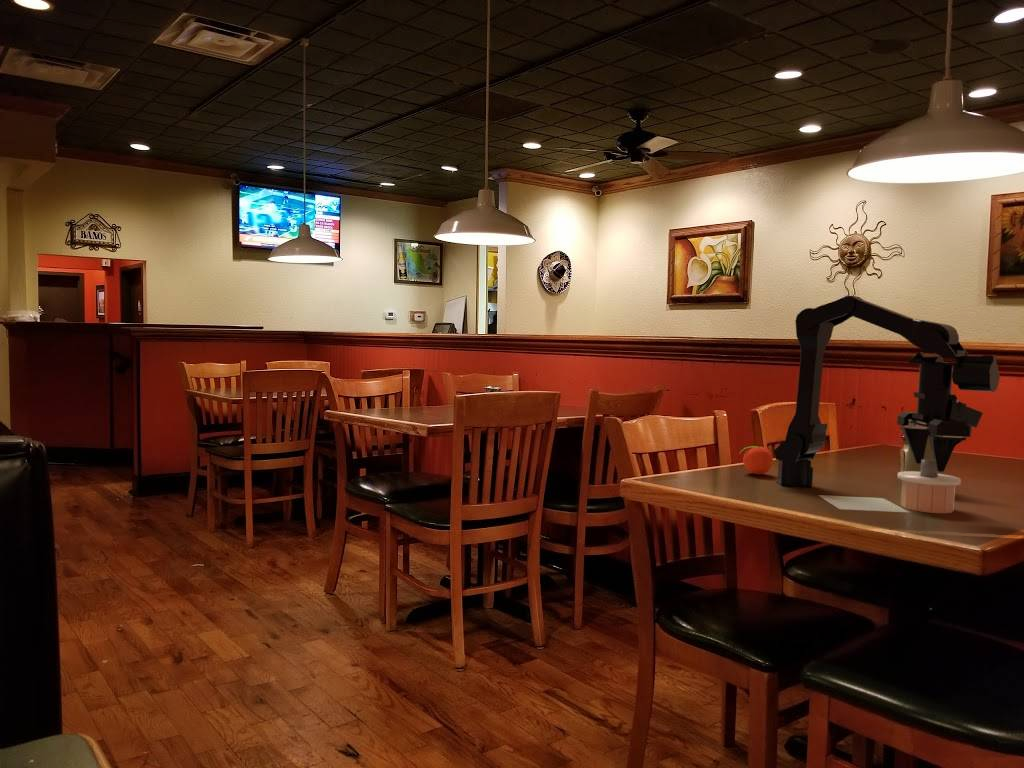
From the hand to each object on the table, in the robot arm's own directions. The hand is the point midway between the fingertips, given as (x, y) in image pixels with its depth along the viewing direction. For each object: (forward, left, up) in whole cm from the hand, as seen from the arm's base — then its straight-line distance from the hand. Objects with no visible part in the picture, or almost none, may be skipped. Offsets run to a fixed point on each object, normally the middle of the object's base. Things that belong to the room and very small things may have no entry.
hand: (929, 467), depth 152 cm
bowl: (0, 0, -9) cm, 9 cm away
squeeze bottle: (+10, +24, -9) cm, 27 cm away
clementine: (-25, +34, -9) cm, 43 cm away
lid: (0, 0, -3) cm, 3 cm away
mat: (-12, +1, -9) cm, 15 cm away
